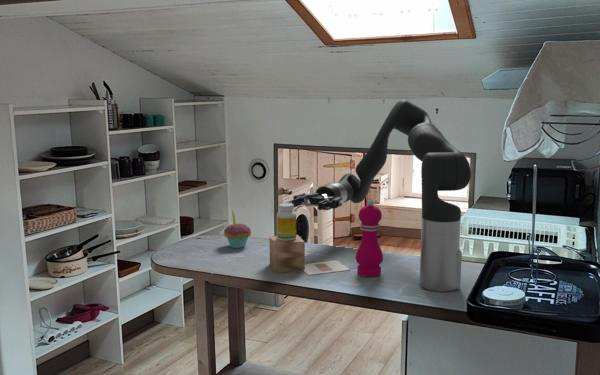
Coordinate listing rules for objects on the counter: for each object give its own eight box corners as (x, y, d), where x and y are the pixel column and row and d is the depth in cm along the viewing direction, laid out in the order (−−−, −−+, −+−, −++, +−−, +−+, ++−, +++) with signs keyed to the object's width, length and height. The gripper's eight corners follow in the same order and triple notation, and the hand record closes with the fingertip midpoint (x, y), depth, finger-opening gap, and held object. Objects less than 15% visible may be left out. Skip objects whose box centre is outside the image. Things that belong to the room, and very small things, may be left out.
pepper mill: (382, 278, 144) (383, 202, 141) (354, 277, 146) (355, 201, 142) (383, 270, 151) (385, 197, 148) (356, 268, 153) (357, 196, 149)
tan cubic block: (297, 261, 159) (297, 234, 158) (304, 270, 152) (304, 241, 150) (269, 264, 157) (269, 236, 156) (276, 272, 149) (275, 243, 148)
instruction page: (336, 261, 160) (336, 260, 160) (350, 270, 151) (350, 269, 151) (297, 265, 155) (297, 264, 155) (308, 275, 147) (308, 274, 147)
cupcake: (240, 251, 170) (239, 212, 168) (218, 247, 175) (217, 209, 173) (256, 244, 177) (255, 207, 175) (235, 241, 182) (234, 205, 180)
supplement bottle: (275, 236, 155) (274, 203, 154) (294, 235, 156) (293, 202, 155) (278, 241, 150) (278, 207, 148) (298, 240, 151) (298, 206, 149)
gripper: (311, 182, 178) (284, 190, 164) (352, 185, 171) (328, 194, 157) (311, 205, 179) (285, 215, 165) (351, 209, 172) (327, 220, 158)
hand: (306, 205), depth 161 cm, fingers open, 8 cm apart
